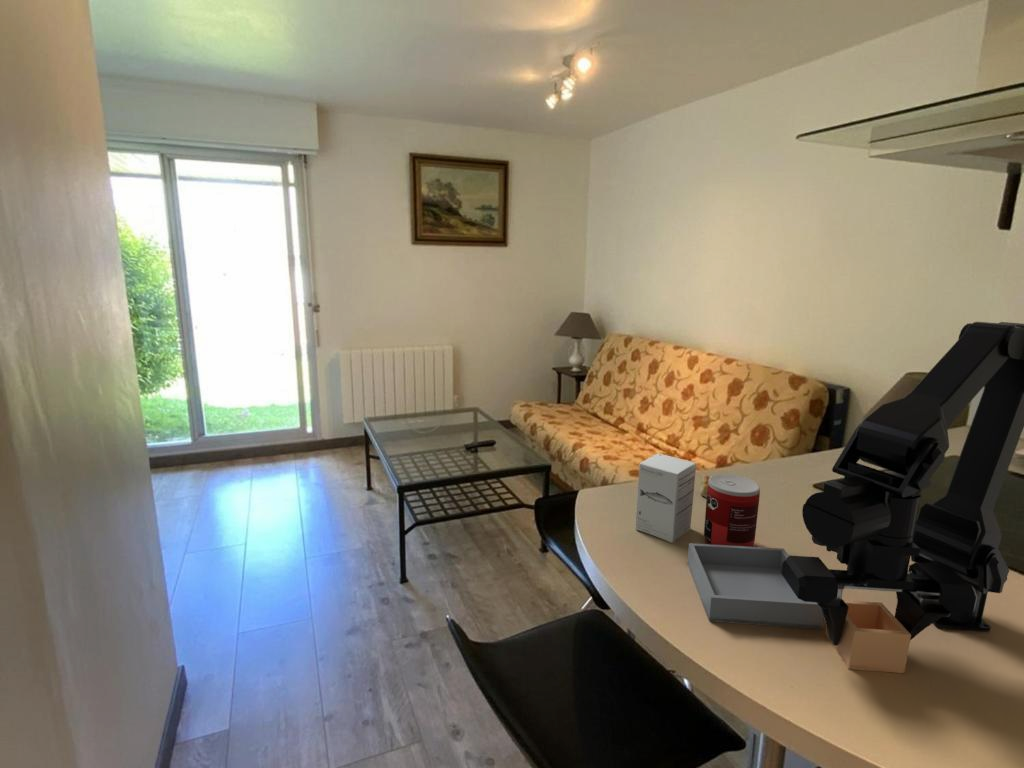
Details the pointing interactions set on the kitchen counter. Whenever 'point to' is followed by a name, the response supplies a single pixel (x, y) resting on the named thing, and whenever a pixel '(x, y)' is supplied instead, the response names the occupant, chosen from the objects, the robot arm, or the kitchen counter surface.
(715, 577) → the grey square tray
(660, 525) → the supplement box
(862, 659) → the small crate
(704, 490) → the pastry
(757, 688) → the kitchen counter surface
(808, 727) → the kitchen counter surface
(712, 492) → the canned food
